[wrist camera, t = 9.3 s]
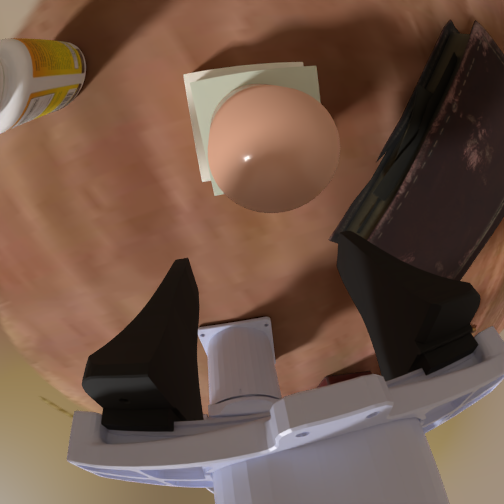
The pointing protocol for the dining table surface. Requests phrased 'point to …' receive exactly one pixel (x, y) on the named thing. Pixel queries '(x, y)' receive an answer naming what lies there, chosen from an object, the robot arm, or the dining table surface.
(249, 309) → the dining table surface
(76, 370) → the dining table surface
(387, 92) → the dining table surface
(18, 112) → the supplement bottle
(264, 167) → the peach rounded lump
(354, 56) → the dining table surface
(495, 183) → the diary
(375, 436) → the robot arm
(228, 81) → the sage middle block
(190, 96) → the cream base slab
